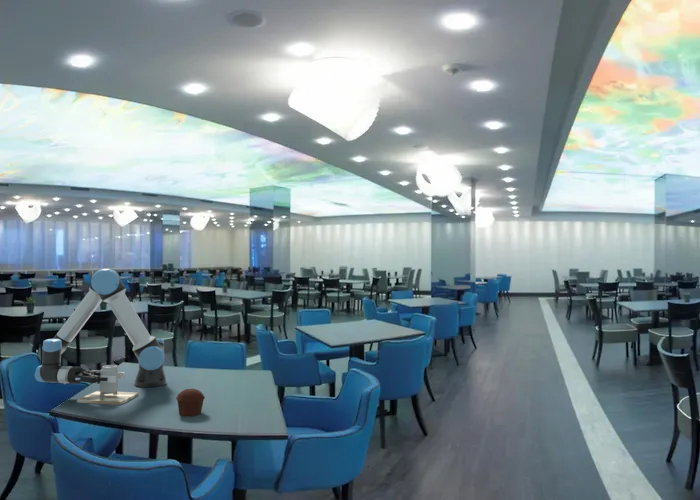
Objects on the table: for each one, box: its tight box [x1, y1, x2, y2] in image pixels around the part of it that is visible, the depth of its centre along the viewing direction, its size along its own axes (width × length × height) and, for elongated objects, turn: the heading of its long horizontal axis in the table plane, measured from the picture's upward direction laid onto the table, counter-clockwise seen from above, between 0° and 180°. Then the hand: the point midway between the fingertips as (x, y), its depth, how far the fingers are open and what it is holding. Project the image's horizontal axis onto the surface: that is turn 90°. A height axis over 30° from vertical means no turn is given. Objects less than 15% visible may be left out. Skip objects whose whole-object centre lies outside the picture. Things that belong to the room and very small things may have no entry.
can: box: [99, 364, 120, 394], centre depth 233 cm, size 8×8×12 cm
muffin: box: [175, 388, 205, 418], centre depth 215 cm, size 12×11×10 cm
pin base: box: [76, 390, 139, 406], centre depth 233 cm, size 16×20×4 cm
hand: (119, 377), depth 233 cm, fingers closed on can, 7 cm apart
